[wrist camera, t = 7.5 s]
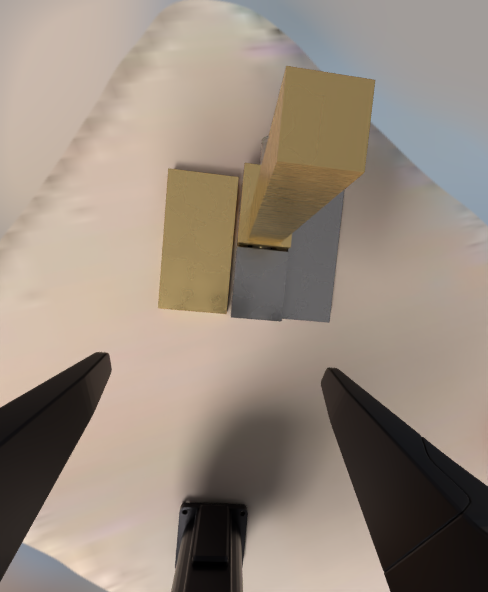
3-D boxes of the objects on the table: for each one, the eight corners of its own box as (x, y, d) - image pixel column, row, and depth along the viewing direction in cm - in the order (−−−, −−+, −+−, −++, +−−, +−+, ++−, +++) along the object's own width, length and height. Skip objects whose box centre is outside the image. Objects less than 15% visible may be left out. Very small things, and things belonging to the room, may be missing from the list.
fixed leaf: (324, 320, 21) (338, 326, 18) (230, 312, 20) (230, 317, 18) (342, 161, 20) (360, 142, 17) (245, 149, 20) (247, 126, 17)
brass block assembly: (274, 316, 21) (365, 384, 7) (161, 307, 20) (0, 359, 6) (287, 188, 20) (415, -31, 6) (171, 174, 19) (18, -108, 5)
